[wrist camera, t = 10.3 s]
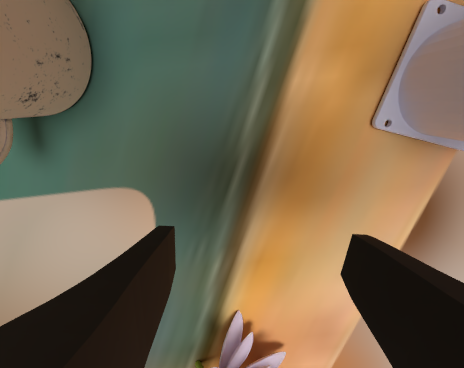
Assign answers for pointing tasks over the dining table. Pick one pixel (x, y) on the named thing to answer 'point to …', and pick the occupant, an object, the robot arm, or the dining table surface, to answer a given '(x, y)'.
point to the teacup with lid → (39, 61)
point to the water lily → (242, 349)
